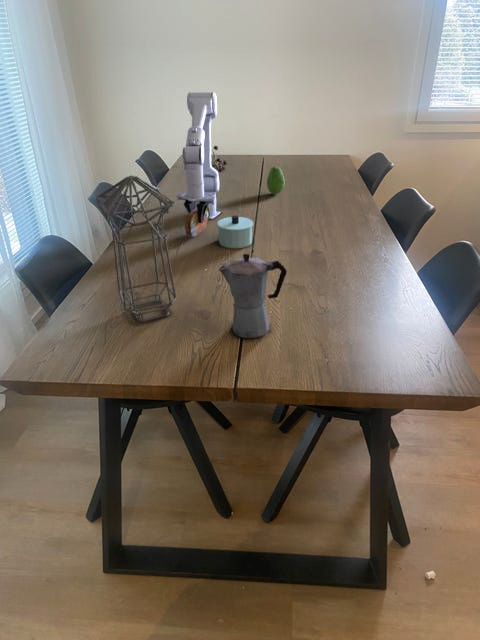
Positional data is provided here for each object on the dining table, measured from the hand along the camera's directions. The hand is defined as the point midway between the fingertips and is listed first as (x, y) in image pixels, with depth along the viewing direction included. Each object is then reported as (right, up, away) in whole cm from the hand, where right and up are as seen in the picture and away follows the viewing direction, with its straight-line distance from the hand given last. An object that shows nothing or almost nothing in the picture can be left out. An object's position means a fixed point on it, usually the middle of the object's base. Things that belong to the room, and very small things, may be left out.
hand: (197, 221), depth 161 cm
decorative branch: (+3, +48, +85) cm, 98 cm away
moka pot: (+18, -37, -49) cm, 64 cm away
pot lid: (+13, -2, -6) cm, 15 cm away
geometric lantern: (-9, -33, -42) cm, 54 cm away
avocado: (+31, +27, +40) cm, 57 cm away
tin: (0, -3, +2) cm, 4 cm away
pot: (+14, -8, -3) cm, 16 cm away
